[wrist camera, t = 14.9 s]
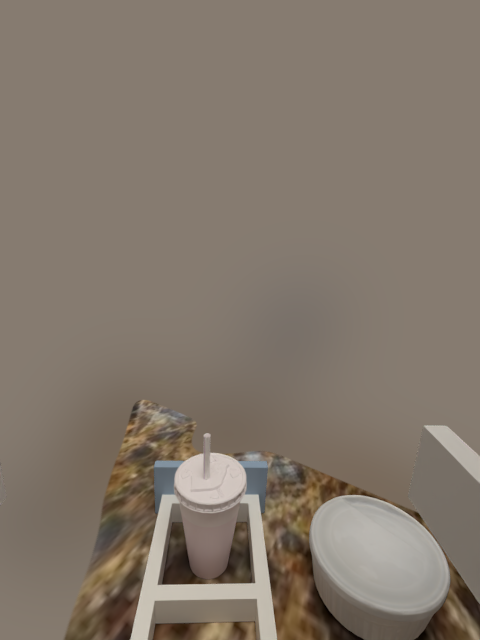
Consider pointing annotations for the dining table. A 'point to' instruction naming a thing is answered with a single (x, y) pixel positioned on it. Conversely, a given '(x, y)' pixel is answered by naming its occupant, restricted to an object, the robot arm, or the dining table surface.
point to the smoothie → (209, 508)
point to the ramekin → (377, 568)
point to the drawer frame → (206, 598)
